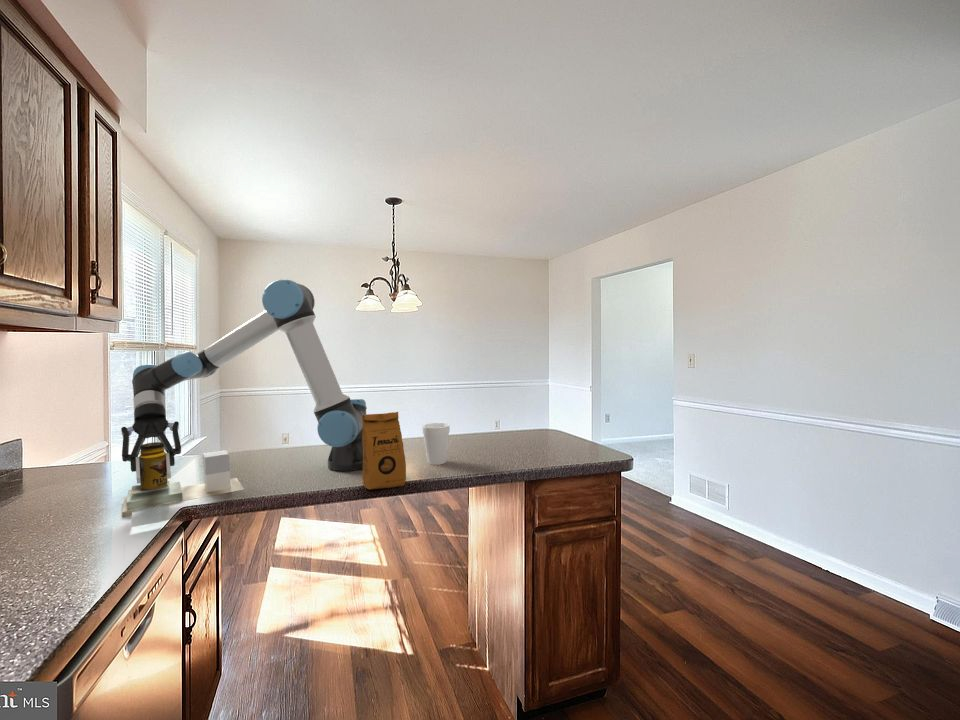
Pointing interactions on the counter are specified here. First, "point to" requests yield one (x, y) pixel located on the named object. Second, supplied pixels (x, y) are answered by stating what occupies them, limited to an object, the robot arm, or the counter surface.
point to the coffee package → (383, 451)
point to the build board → (192, 494)
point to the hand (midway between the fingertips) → (154, 477)
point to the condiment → (152, 468)
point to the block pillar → (216, 470)
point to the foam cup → (436, 442)
